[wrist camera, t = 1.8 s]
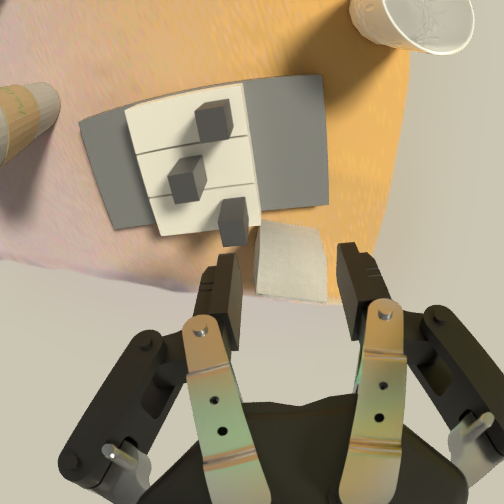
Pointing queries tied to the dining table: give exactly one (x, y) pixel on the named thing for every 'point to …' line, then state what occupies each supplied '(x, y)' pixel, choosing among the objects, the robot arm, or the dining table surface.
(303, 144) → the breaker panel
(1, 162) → the coffee cup
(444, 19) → the white cup
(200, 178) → the handle
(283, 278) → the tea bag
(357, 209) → the dining table surface
